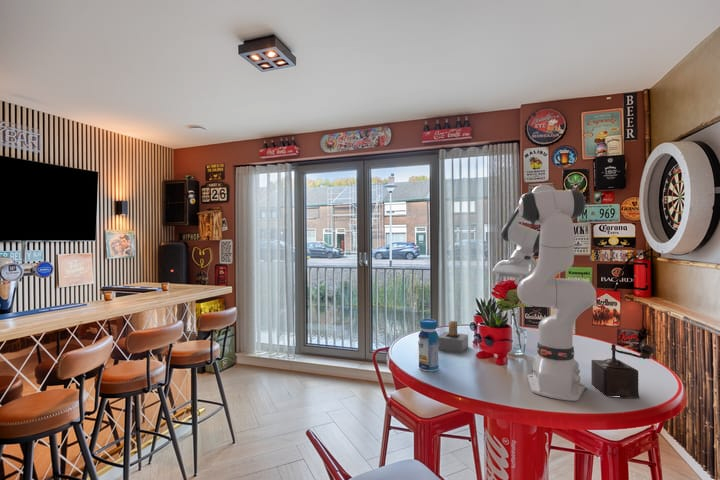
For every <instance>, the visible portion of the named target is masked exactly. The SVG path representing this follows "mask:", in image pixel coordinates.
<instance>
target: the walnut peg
mask: <svg viewBox="0 0 720 480" xmlns="http://www.w3.org/2000/svg"><path fill="white" fill-rule="evenodd" d="M448 332H449V337H453V338H457V333H458V321H456V320H449V321H448Z"/></svg>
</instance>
